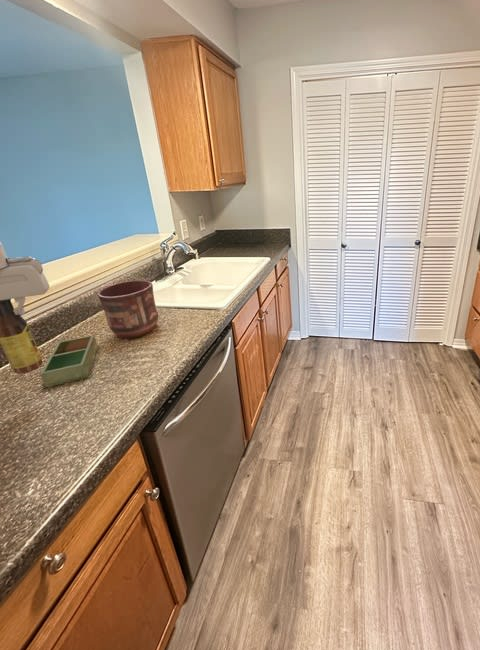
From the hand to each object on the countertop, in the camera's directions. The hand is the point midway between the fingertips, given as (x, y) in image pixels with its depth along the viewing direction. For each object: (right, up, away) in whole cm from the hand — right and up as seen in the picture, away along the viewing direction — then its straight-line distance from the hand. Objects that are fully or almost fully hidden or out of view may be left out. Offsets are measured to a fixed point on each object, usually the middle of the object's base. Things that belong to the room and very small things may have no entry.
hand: (6, 316), depth 78 cm
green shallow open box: (-2, -17, +26) cm, 31 cm away
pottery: (+9, -8, +46) cm, 47 cm away
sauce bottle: (+1, -14, +6) cm, 15 cm away
